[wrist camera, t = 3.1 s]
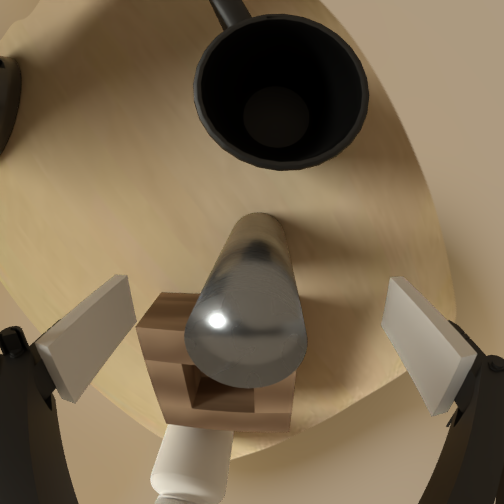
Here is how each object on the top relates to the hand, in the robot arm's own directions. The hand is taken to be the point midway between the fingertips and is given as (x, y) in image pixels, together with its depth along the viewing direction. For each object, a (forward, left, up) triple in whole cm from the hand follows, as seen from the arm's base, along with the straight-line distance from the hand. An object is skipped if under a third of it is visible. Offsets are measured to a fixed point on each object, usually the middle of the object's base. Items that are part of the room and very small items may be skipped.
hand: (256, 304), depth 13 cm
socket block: (+11, -3, -10) cm, 15 cm away
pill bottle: (+23, -7, -11) cm, 26 cm away
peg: (0, 0, -10) cm, 10 cm away
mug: (-12, +1, -11) cm, 16 cm away
